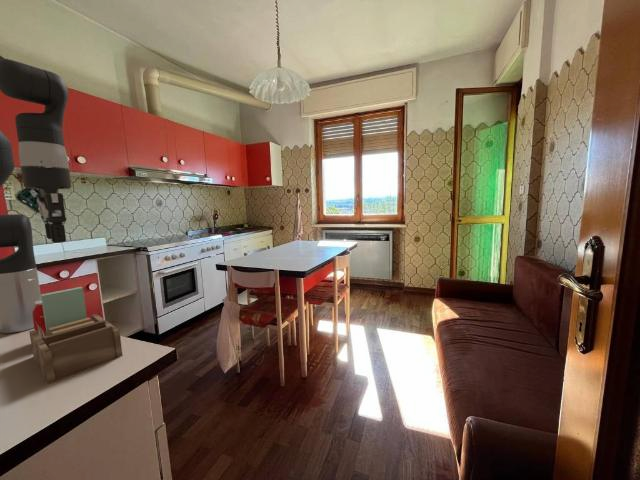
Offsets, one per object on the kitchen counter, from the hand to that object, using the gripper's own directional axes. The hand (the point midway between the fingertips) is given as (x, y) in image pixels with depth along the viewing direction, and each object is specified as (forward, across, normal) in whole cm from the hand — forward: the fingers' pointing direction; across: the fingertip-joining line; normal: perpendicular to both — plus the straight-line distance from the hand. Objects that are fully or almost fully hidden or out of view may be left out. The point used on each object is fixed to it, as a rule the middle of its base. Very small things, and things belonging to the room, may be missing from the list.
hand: (56, 240), depth 62 cm
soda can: (+28, -9, -2) cm, 29 cm away
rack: (+27, +7, 0) cm, 28 cm away
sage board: (+26, 0, 0) cm, 26 cm away
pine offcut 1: (+26, +3, 0) cm, 26 cm away
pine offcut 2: (+26, +7, 0) cm, 27 cm away
